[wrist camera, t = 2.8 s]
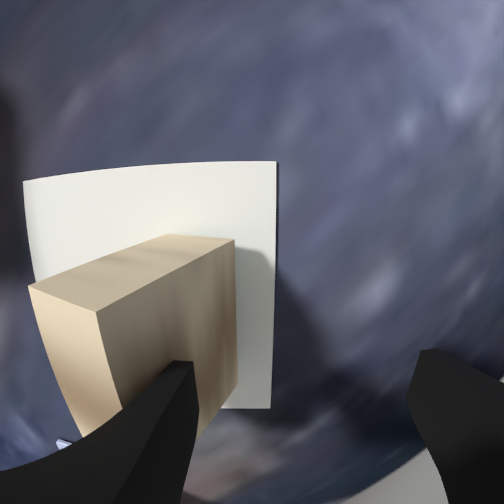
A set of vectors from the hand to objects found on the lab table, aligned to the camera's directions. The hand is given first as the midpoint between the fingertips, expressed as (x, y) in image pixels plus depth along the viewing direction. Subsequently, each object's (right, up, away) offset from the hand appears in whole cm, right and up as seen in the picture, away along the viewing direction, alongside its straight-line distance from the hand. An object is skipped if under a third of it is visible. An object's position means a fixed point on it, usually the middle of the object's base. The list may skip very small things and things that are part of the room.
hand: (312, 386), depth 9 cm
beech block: (-4, +1, +5) cm, 6 cm away
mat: (-7, +2, +6) cm, 9 cm away
